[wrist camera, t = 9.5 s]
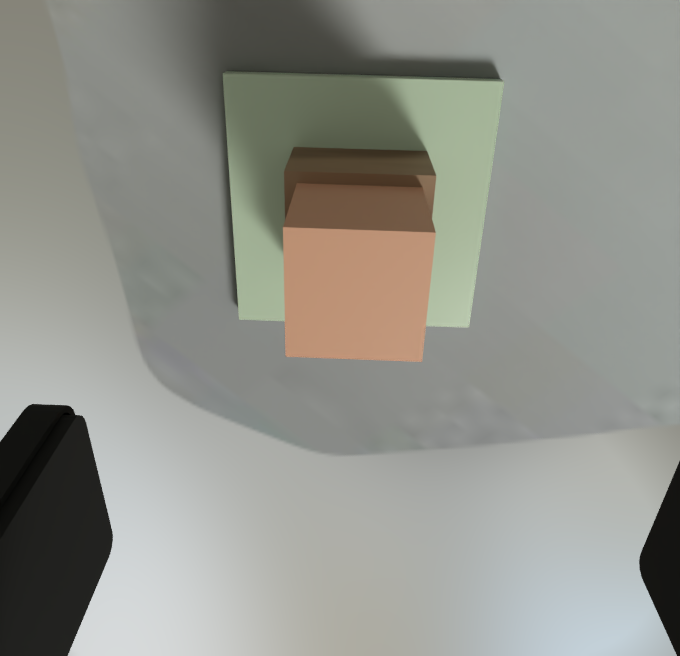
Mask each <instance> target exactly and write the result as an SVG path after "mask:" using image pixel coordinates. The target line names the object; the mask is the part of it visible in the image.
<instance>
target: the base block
mask: <svg viewBox="0 0 680 656" xmlns="http://www.w3.org/2000/svg"><path fill="white" fill-rule="evenodd" d="M297 183H307V184H336V185H366V186H395V187H423V190H424V194H425V197H426V200H427V204H428V207H429V211H430V214H431V218H432V214H433V205H434V195H435V185H436V173H435V171H434V168H433V165H432V163H431V160H430V158H429V155H428V152H427V151H412V150H378V149H345V148H312V147H293V150H292V152H291V155H290V157H289V160H288V162H287V165H286V167H285V170H284V195H285V219H286V216H287V213H288V210H289V206H290V203H291V200H292V197H293V194H294V191H295V188H296V184H297Z"/></svg>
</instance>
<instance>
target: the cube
mask: <svg viewBox="0 0 680 656" xmlns="http://www.w3.org/2000/svg"><path fill="white" fill-rule="evenodd" d="M435 236H436V231H435V228H434V224H433V221H432V218H431V214H430V211H429V207H428V204H427V200H426V197H425V194H424V190H423V187H395V186H366V185H336V184H307V183H297V184H296V188H295V191H294V194H293V197H292V200H291V203H290V206H289V210H288V213H287V216H286V219H285V222H284V225H283V255H284V302H285V348H286V357H311V358H337V359H364V360H390V361H416V362H422V356H423V347H424V338H425V329H426V319H427V310H428V301H429V292H430V283H431V273H432V264H433V255H434V246H435Z"/></svg>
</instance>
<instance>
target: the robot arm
mask: <svg viewBox="0 0 680 656" xmlns="http://www.w3.org/2000/svg"><path fill="white" fill-rule="evenodd" d="M112 538H113V534H112V529H111V525H110V520H109V516H108V512H107V508H106V504H105V500H104V495H103V492H102V487H101V483H100V479H99V475H98V471H97V466H96V462H95V458H94V454H93V450H92V446H91V442H90V438H89V434H88V429H87V425H86V422H85V419H84V418H83V416H80V415H75V413H74V410H73V409H72V408H71V407H70V406H66V405H41V404H32V405H29V406H28V407H27V408H26V409H25V410H24V411H23V412H22V413H21V415H20V416H19V417H18V419H17V420H16V422H15V423H14V424H13V425H12V427H11V428H10V430H9V431H8V432H7V434H6V435H5V436H4V438H3V439H2V440H1V442H0V656H68V653H69V651H70V648H71V646H72V644H73V641H74V639H75V636H76V634H77V631H78V629H79V627H80V625H81V622H82V620H83V617H84V615H85V612H86V610H87V608H88V605H89V603H90V601H91V598H92V596H93V593H94V591H95V589H96V586H97V584H98V582H99V579H100V577H101V575H102V572H103V570H104V567H105V565H106V562H107V560H108V558H109V555H110V552H111V548H112V541H113V539H112ZM639 564H640V572H641V576H642V579H643V581H644V583H645V586H646V588H647V590H648V592H649V594H650V597H651V599H652V601H653V603H654V606H655V608H656V610H657V612H658V614H659V617H660V619H661V621H662V623H663V625H664V628H665V630H666V632H667V634H668V636H669V639H670V641H671V643H672V645H673V648H674V650H675V652H676V654H677V656H680V462H679V464H678V466H677V469H676V471H675V474H674V476H673V478H672V481H671V483H670V485H669V488H668V490H667V492H666V495H665V497H664V500H663V502H662V504H661V507H660V509H659V512H658V514H657V516H656V519H655V521H654V524H653V526H652V528H651V531H650V533H649V535H648V538H647V540H646V542H645V545H644V547H643V550H642V552H641V555H640V562H639Z"/></svg>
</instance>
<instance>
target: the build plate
mask: <svg viewBox="0 0 680 656" xmlns="http://www.w3.org/2000/svg"><path fill="white" fill-rule="evenodd" d="M223 87H224V102H225V117H226V132H227V147H228V162H229V176H230V191H231V206H232V221H233V236H234V251H235V266H236V281H237V296H238V311H239V320H266V321H285V302H284V255H283V225H284V222H285V195H284V170H285V167H286V165H287V162H288V160H289V157H290V155H291V152H292V150H293V147H312V148H345V149H378V150H412V151H427V152H428V155H429V158H430V160H431V163H432V165H433V168H434V171H435V173H436V185H435V195H434V205H433V214H432V221H433V224H434V228H435V231H436V236H435V246H434V255H433V264H432V273H431V283H430V292H429V301H428V310H427V319H426V326H440V327H469V323H470V316H471V309H472V302H473V295H474V288H475V281H476V274H477V267H478V260H479V253H480V246H481V239H482V233H483V226H484V219H485V212H486V205H487V198H488V191H489V184H490V177H491V170H492V163H493V156H494V150H495V143H496V136H497V129H498V122H499V115H500V108H501V101H502V94H503V87H504V81H503V80H501V79H485V78H450V77H414V76H378V75H343V74H307V73H272V72H236V71H226V72H224V73H223Z"/></svg>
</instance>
